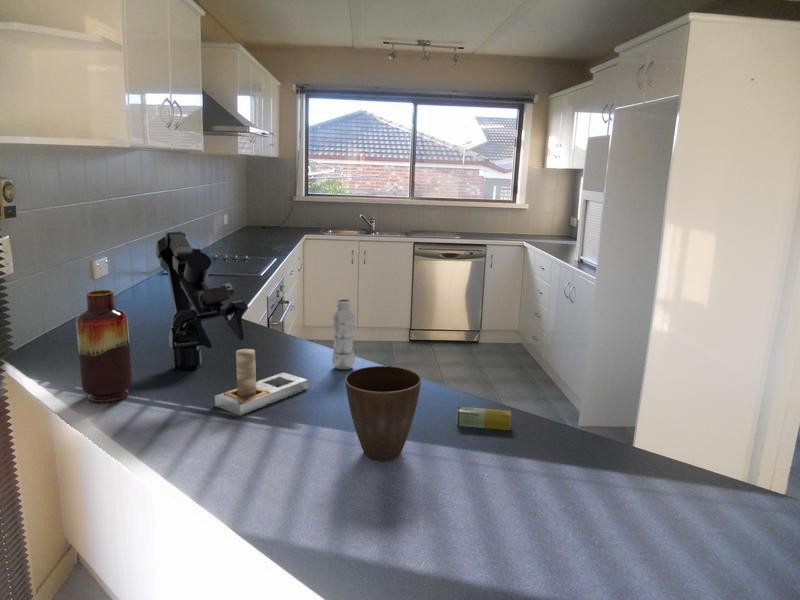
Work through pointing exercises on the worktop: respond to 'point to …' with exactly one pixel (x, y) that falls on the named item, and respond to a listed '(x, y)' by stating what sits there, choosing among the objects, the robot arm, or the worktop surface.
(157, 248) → the robot arm
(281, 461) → the worktop surface
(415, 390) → the plant pot
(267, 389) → the white peg board
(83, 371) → the vase
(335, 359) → the plastic bottle
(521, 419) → the worktop surface
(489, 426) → the medication box
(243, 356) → the maple peg
